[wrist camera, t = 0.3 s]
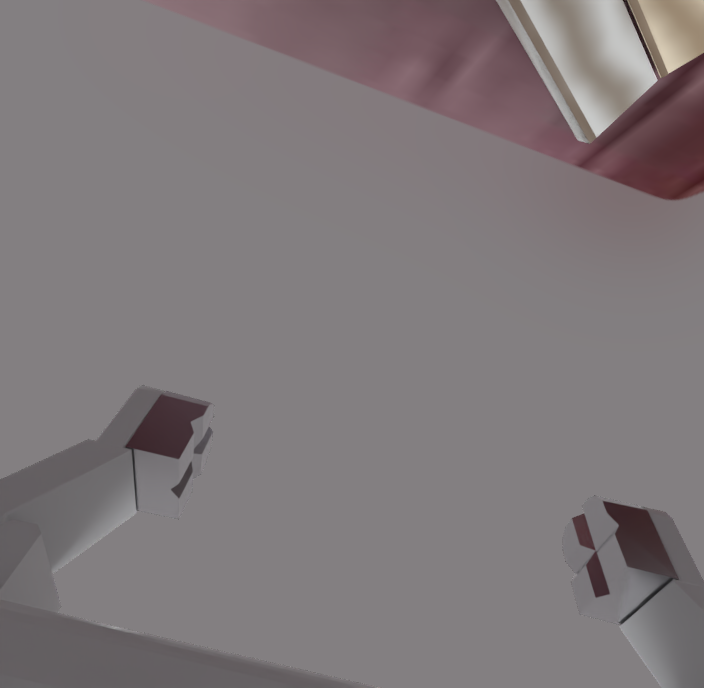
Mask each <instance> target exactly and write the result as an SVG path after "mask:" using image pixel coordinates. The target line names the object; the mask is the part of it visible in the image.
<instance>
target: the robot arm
mask: <svg viewBox="0 0 704 688" xmlns="http://www.w3.org/2000/svg"><path fill="white" fill-rule="evenodd" d="M213 418H214V405H213V404H212V403H210V402H206V401H202V400H198V399H194V398H191V397H187V396H183V395H180V394H176V393H172V392H169V391H163V390H159V389H156V388H152V387H148V386H145V385H142V386H140V387H139V388H137V389H136V390H135V391H134V392H133V393H132V395H131V396H130V397H129V398H128V400H127V401H126V402H125V404H124V405H123V406H122V407H121V409H120V410H119V411H118V413H117V414H116V415H115V417H114V418H113V419H112V421H111V422H110V423H109V424H108V426H107V427H106V428H105V429H104V431H103V432H102V433H101V435H100V436H99V437H98V438H97V440H96V441H95V440H90V439H88V440H85V441H83V442H81V443H79V444H77V445H74V446H72V447H70V448H68V449H66V450H63V451H61V452H59V453H57V454H55V455H53V456H50V457H48V458H46V459H44V460H42V461H39V462H37V463H35V464H33V465H31V466H28V467H26V468H24V469H22V470H20V471H18V472H16V473H13V474H11V475H9V476H7V477H5V478H2V479H0V688H379V687H375V686H371V685H367V684H363V683H358V682H354V681H350V680H345V679H341V678H337V677H332V676H328V675H323V674H319V673H315V672H311V671H307V670H302V669H298V668H293V667H289V666H285V665H281V664H276V663H272V662H267V661H263V660H259V659H255V658H251V657H246V656H242V655H238V654H233V653H229V652H225V651H220V650H216V649H212V648H207V647H203V646H198V645H194V644H190V643H186V642H181V641H177V640H173V639H168V638H164V637H160V636H156V635H151V634H146V633H142V632H138V631H134V630H130V629H125V628H121V627H116V626H112V625H108V624H103V623H99V622H95V621H90V620H86V619H82V618H78V617H73V616H69V615H65V614H61V613H58V611H59V609H60V608H61V604H60V600H59V596H58V592H57V589H56V586H55V582H54V578H53V573H55V572H56V571H57V570H59V569H60V568H61V567H63V566H64V565H66V564H67V563H68V562H70V561H71V560H73V559H74V558H75V557H77V556H78V555H79V554H81V553H82V552H84V551H85V550H86V549H88V548H89V547H90V546H92V545H93V544H95V543H96V542H97V541H99V540H100V539H101V538H103V537H104V536H106V535H107V534H108V533H110V532H111V531H113V530H114V529H115V528H117V527H118V526H119V525H121V524H122V523H124V522H125V521H126V520H128V519H129V518H130V517H132V516H133V515H135V514H136V511H141V512H146V513H151V514H156V515H161V516H166V517H170V518H175V519H179V518H180V516H181V514H182V512H183V510H184V508H185V506H186V504H187V502H188V500H189V498H190V496H191V493H192V485H193V479H194V478H196V477H197V476H199V475H201V473H202V471H203V469H204V466H205V464H206V462H207V459H208V455H209V453H210V449H211V444H212V438H213V431H212V429H211V428H210V427H209V425H210V423H211V421H212V420H213ZM582 508H583V511H584V514H582V515H579V516H576V517H574V518H572V519H571V520H570V522H569V523H568V525H567V526H566V527H565V531H564V535H563V540H562V545H563V553H564V557H565V562H566V563H567V564H568V565H569V567H570V568H571V569H572V570H573V571H574V573H575V575H574V577H573V579H572V581H571V585H572V588H573V592H574V596H575V600H576V603H577V607H578V611H579V614H580V615H584V616H588V617H591V618H595V619H599V620H603V621H607V622H610V623H614V624H618V625H621V626H620V627H619V628H620V629H621V630H622V632H623V633H624V634H625V636H626V638H627V639H628V640H629V642H630V643H631V645H632V646H633V647H634V649H635V651H636V652H637V653H638V655H639V656H640V658H641V659H642V661H643V662H644V663H645V665H646V666H647V668H648V669H649V670H650V672H651V673H652V675H653V676H654V678H655V679H656V680H657V682H658V683H659V685H660V686H661V688H704V581H703V579H702V577H701V575H700V573H699V571H698V569H697V567H696V565H695V563H694V561H693V559H692V557H691V555H690V553H689V551H688V549H687V547H686V545H685V543H684V541H683V539H682V537H681V535H680V533H679V531H678V529H677V527H676V525H675V523H674V521H673V519H672V518H671V517H670V516H669V515H668V514H667V513H666V512H663V511H659V510H655V509H650V508H646V507H640V506H638V505H633V504H629V503H625V502H621V501H616V500H612V499H607V498H603V497H599V496H593V497H590V498H588V499H587V500H586V502H585V503H584V504H583V505H582Z"/></svg>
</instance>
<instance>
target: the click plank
mask: <svg viewBox="0 0 704 688" xmlns="http://www.w3.org/2000/svg"><path fill="white" fill-rule="evenodd" d="M496 1H497V3H498V4H499V6H500V8H501V10H502V11H503V13H504V15H505V16H506V18H507V20H508V22H509V23H510V25H511V27H512V28H513V30H514V32H515V34H516V35H517V37H518V39H519V40H520V42H521V44H522V46H523V47H524V49H525V51H526V52H527V54H528V56H529V58H530V59H531V61H532V63H533V64H534V66H535V68H536V70H537V71H538V73H539V75H540V76H541V78H542V80H543V82H544V83H545V85H546V87H547V88H548V90H549V92H550V94H551V95H552V97H553V99H554V100H555V102H556V104H557V105H558V107H559V109H560V111H561V112H562V114H563V116H564V117H565V119H566V121H567V123H568V124H569V126H570V128H571V129H572V131H573V133H574V135H575V136H576V138H577V140H579V141H582V142H586V143H589V144H590V143H591V142H592V141H593V140H594V139H596V137H597V136H599V135H600V134H601V133H602V132H603V131H604V130H605V129H606V128H607V127H608V126H609V125H610V124H611V123H613V122H614V121H615V120H616V119H617V118H618V117H619V116H620V115H621V114H622V113H623V112H624V111H625V110H626V109H628V108H629V107H630V106H631V105H632V104H633V103H634V102H635V101H636V100H637V99H638V98H639V97H640V96H641V95H643V94H644V93H645V92H646V91H647V90H648V89H649V88H650V87H651V86H652V85H653V84H654V83H655V82H657V81H658V80H657V78H656V76H655V73H654V71H653V69H652V67H651V64H650V62H649V60H648V57H647V55H646V53H645V50H644V48H643V46H642V44H641V41H640V39H639V37H638V34H637V32H636V30H635V27H634V25H633V23H632V21H631V18H630V16H629V14H628V11H627V9H626V7H625V4H624V2H623V0H496Z"/></svg>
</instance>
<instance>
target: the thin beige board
mask: <svg viewBox="0 0 704 688" xmlns="http://www.w3.org/2000/svg"><path fill="white" fill-rule="evenodd" d="M627 2H628V4H629V6H630V9H631V11H632V13H633V15H634V18H635V20H636V22H637V25H638V27H639V29H640V32H641V34H642V36H643V39H644V41H645V43H646V46H647V48H648V50H649V53H650V55H651V57H652V60H653V62H654V64H655V67H656V69H657V71H658V73H659V75H660V77H661V78H663V77H664V76H666V75H668V73H670V72H672V71H673V70H675V69H677V68H679V67H680V66H682V65H684V64H685V63H687V62H689V61H690V60H692V59H694V58H695V57H697V56H699V55H700V54H702V53H704V0H627Z"/></svg>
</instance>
